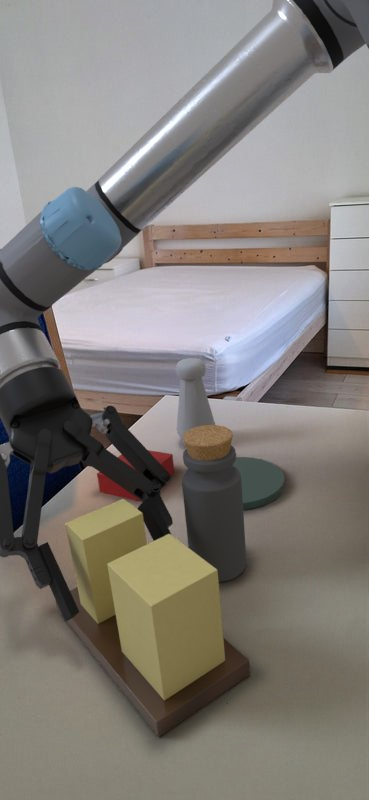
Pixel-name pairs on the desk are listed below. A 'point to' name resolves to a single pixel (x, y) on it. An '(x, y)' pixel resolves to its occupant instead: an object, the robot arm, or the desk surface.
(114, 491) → the red box
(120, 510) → the yellow rectangular block
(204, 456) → the bottle
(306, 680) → the desk surface
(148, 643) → the butter block
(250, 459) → the plate
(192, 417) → the salt shaker
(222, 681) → the butter board
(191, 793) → the desk surface
